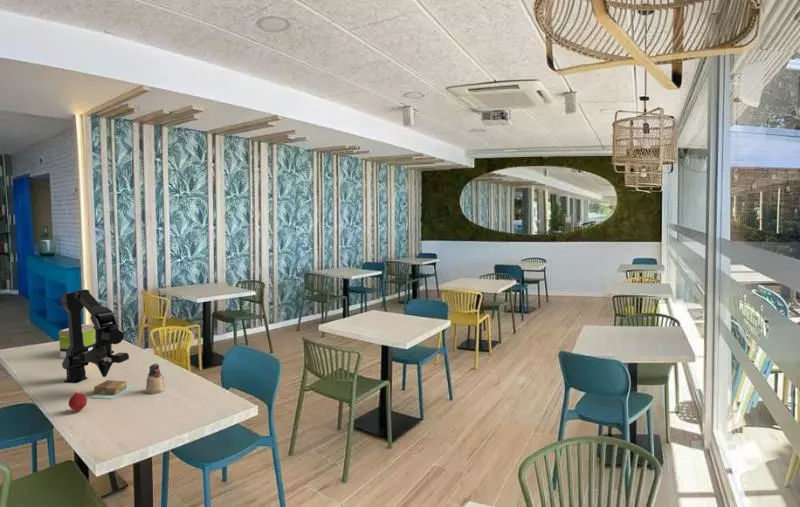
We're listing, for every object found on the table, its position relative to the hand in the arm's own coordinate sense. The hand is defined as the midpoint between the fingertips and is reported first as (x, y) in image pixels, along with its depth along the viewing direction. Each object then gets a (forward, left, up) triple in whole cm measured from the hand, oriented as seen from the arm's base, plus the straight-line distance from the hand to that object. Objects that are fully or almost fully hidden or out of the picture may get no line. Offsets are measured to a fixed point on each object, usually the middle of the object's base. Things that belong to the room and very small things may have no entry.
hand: (104, 376), depth 205 cm
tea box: (-49, +47, -7) cm, 68 cm away
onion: (+4, -20, -7) cm, 21 cm away
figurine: (+20, +4, -7) cm, 21 cm away
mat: (+4, 0, -6) cm, 7 cm away
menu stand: (-2, 0, -4) cm, 5 cm away
